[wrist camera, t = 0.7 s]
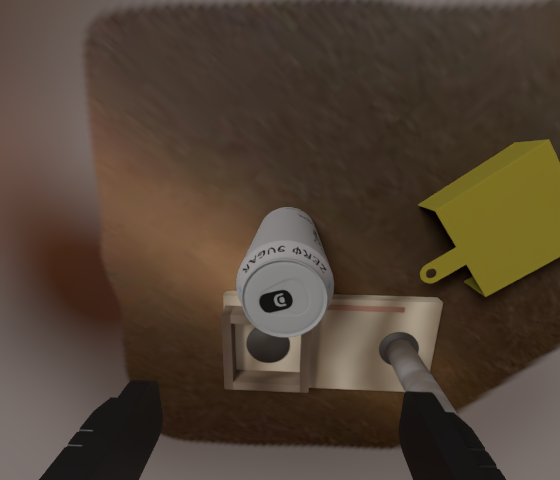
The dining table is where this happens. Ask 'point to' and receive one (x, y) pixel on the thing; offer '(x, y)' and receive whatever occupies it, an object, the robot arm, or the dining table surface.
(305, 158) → the dining table surface
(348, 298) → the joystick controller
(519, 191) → the bracket
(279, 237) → the energy drink can
